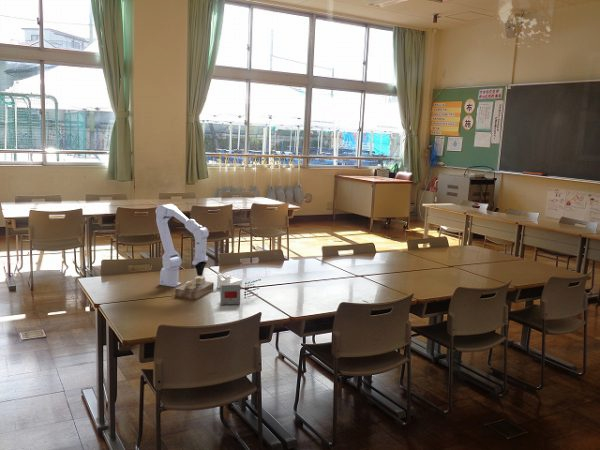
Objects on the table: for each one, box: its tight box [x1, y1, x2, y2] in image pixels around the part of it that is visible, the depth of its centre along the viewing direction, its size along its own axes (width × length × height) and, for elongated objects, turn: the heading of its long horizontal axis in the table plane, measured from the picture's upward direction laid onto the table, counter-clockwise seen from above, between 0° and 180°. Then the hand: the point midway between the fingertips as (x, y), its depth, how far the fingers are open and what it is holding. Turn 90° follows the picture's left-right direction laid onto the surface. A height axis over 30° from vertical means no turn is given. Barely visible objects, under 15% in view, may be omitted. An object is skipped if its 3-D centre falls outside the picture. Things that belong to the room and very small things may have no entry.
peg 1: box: [185, 280, 196, 290], centre depth 288 cm, size 4×4×4 cm
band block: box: [174, 279, 215, 300], centre depth 293 cm, size 12×20×4 cm, turn 164°
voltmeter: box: [219, 278, 262, 306], centre depth 285 cm, size 27×11×10 cm, turn 144°
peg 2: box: [193, 275, 206, 285], centre depth 297 cm, size 4×4×4 cm
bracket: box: [216, 273, 243, 289], centre depth 310 cm, size 13×7×8 cm, turn 147°
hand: (199, 275), depth 297 cm, fingers closed
